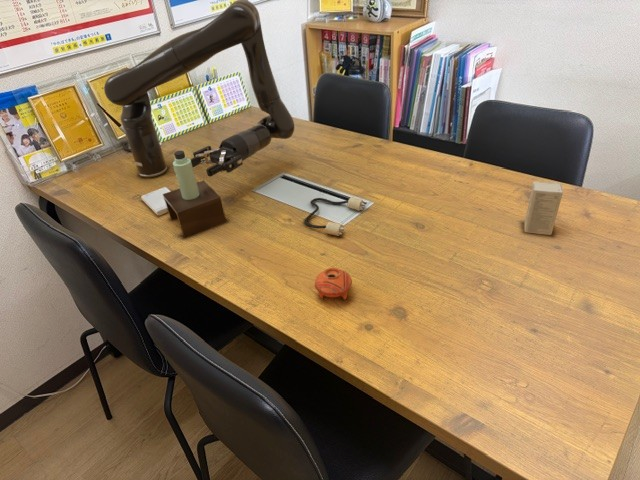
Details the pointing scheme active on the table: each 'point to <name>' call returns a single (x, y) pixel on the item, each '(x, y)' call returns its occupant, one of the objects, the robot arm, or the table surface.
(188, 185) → the bottle
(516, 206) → the table surface
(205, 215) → the stand
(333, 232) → the cable
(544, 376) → the table surface
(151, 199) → the hard drive
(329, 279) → the pot
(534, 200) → the cosmetic box
